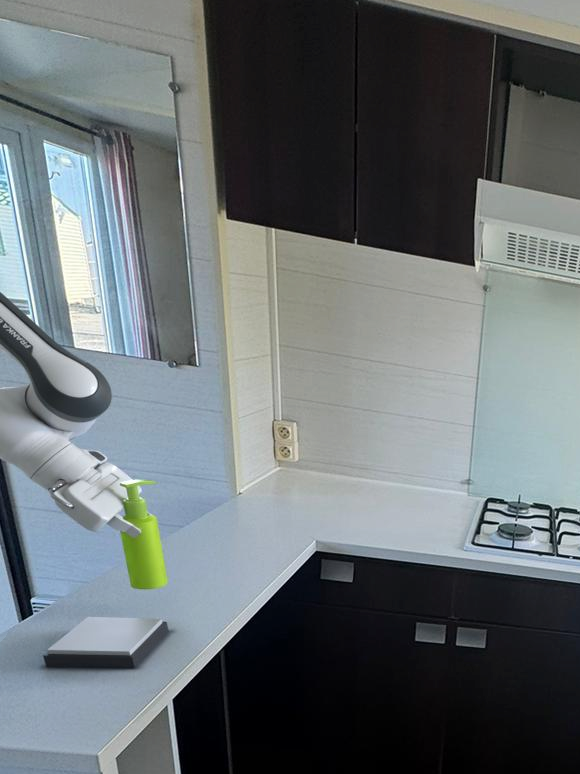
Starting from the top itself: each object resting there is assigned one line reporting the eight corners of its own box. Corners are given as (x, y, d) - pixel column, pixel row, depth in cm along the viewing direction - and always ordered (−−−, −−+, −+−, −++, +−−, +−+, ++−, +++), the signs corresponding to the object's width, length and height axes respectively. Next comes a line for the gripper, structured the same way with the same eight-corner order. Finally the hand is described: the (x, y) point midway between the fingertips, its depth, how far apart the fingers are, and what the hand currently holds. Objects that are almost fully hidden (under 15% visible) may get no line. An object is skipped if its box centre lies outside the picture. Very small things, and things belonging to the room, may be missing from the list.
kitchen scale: (46, 667, 103) (41, 651, 102) (89, 629, 114) (86, 615, 113) (134, 668, 106) (131, 653, 104) (168, 631, 117) (166, 617, 116)
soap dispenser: (180, 581, 123) (163, 481, 115) (143, 592, 117) (123, 487, 109) (160, 574, 125) (143, 475, 117) (123, 584, 119) (102, 480, 111)
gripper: (56, 476, 100) (140, 535, 108) (102, 449, 118) (171, 501, 125) (29, 502, 101) (114, 559, 108) (79, 471, 118) (149, 521, 125)
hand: (145, 527), depth 117 cm, fingers closed on soap dispenser, 6 cm apart
